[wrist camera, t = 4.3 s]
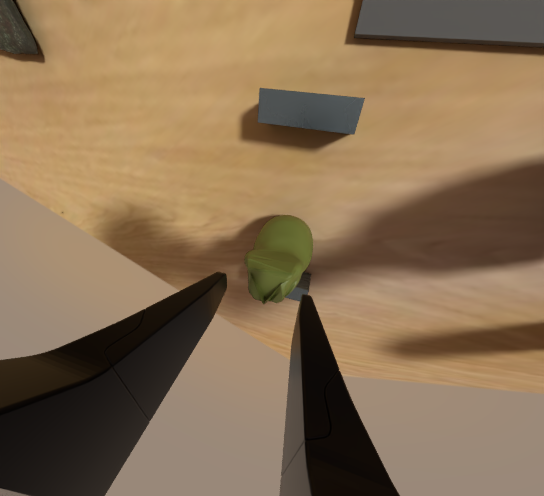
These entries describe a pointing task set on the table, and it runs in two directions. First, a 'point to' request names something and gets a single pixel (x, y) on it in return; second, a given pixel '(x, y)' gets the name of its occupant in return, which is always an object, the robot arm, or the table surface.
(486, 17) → the mat
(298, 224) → the pear
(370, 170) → the table surface
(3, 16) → the tool
